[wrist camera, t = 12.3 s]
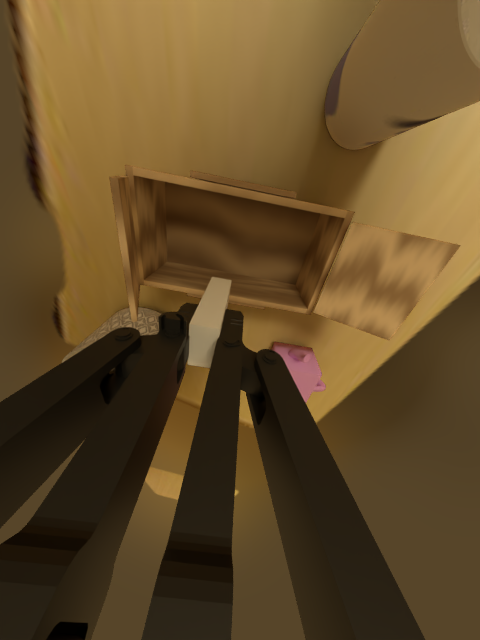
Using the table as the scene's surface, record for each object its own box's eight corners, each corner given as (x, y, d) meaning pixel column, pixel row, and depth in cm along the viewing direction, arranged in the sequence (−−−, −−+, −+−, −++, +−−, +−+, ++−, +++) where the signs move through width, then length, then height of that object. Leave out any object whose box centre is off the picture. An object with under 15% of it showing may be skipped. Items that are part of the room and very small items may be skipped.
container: (354, 168, 28) (505, 130, 11) (307, 107, 25) (420, -70, 8) (427, 87, 24) (856, -173, 7) (382, 0, 21) (948, -842, 4)
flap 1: (122, 175, 21) (109, 177, 13) (128, 176, 21) (117, 178, 14) (136, 281, 27) (131, 321, 20) (140, 281, 27) (137, 321, 20)
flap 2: (352, 222, 22) (460, 245, 19) (352, 222, 22) (458, 244, 19) (313, 312, 29) (389, 340, 26) (313, 311, 29) (388, 338, 26)
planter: (122, 362, 52) (83, 413, 40) (100, 300, 42) (39, 342, 30) (191, 368, 52) (173, 421, 40) (186, 307, 42) (159, 353, 30)
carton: (160, 167, 29) (123, 156, 21) (328, 201, 31) (357, 204, 22) (164, 268, 38) (139, 289, 29) (296, 292, 39) (308, 319, 30)
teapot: (322, 367, 50) (338, 406, 40) (274, 384, 54) (278, 422, 45) (299, 323, 43) (312, 358, 34) (246, 346, 47) (244, 382, 38)
